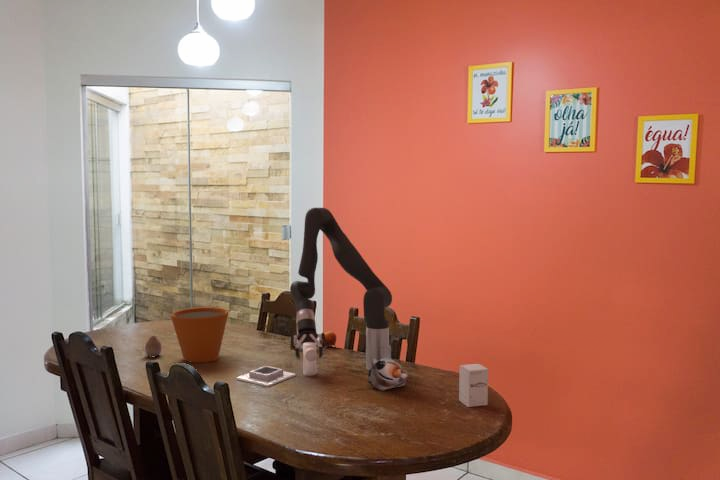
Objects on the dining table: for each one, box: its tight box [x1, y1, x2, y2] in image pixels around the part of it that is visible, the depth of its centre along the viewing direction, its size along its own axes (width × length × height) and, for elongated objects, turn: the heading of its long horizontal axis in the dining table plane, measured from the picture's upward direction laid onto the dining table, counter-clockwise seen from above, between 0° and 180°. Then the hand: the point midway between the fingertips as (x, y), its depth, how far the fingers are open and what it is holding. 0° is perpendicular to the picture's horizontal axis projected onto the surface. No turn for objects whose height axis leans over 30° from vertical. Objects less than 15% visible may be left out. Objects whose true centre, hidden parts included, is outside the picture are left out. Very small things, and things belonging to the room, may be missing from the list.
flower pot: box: [170, 306, 229, 363], centre depth 261 cm, size 24×24×20 cm
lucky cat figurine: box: [368, 358, 409, 392], centre depth 222 cm, size 15×12×14 cm
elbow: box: [302, 342, 319, 377], centre depth 237 cm, size 9×5×12 cm, turn 12°
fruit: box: [318, 330, 337, 348], centre depth 281 cm, size 8×8×8 cm
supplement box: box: [458, 363, 489, 408], centre depth 206 cm, size 7×7×13 cm
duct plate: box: [236, 365, 297, 388], centre depth 234 cm, size 16×16×3 cm
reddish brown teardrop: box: [144, 335, 163, 358], centre depth 265 cm, size 7×7×9 cm
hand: (309, 357), depth 239 cm, fingers open, 8 cm apart
